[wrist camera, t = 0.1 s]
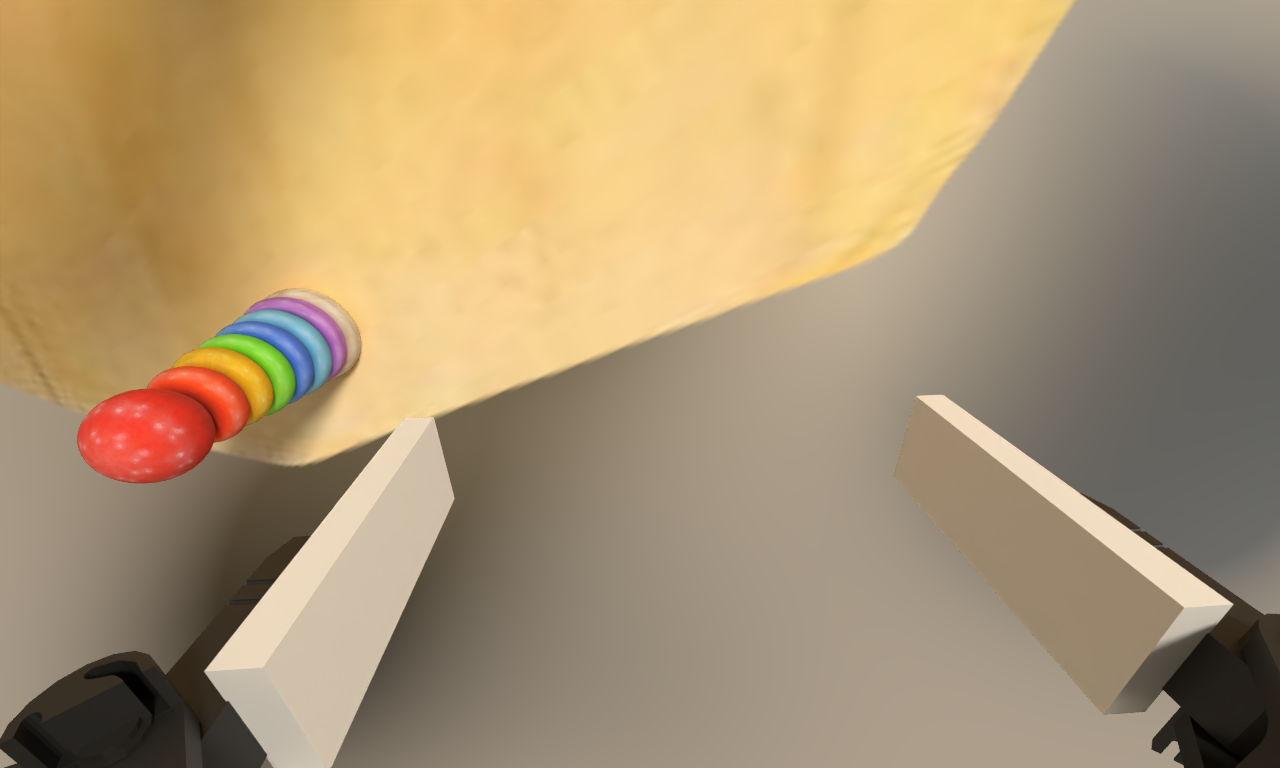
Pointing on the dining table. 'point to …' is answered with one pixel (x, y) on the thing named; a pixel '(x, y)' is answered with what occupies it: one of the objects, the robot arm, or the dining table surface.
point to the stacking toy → (221, 387)
